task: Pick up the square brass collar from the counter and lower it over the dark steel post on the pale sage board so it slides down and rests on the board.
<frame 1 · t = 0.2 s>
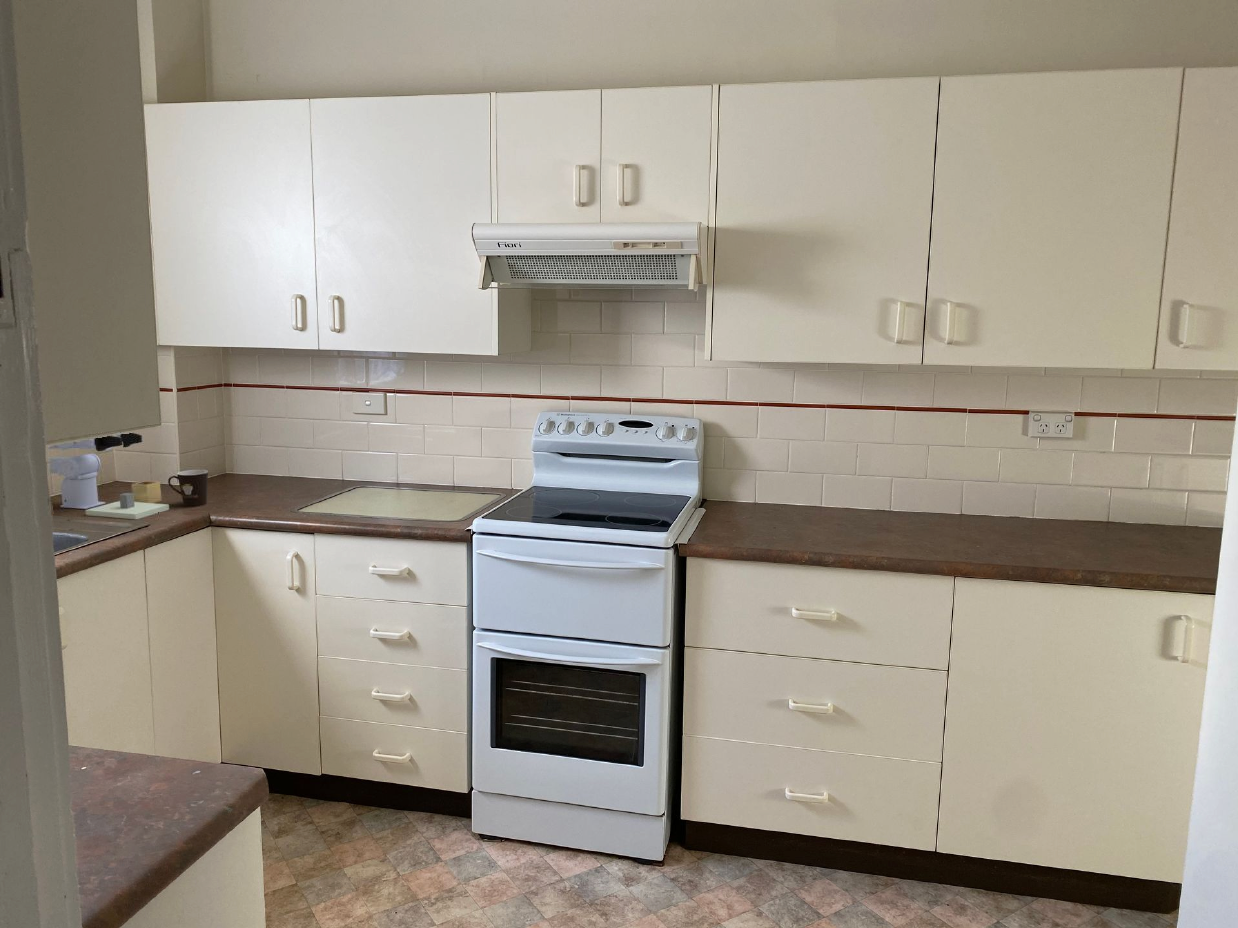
hand: (131, 440, 279), 21 cm above the worktop, tool horizontal, fingers open, 7 cm apart
coffee mug: (192, 504, 291), on the worktop
post stand: (128, 512, 280), on the worktop
brass collar: (147, 502, 294), on the worktop
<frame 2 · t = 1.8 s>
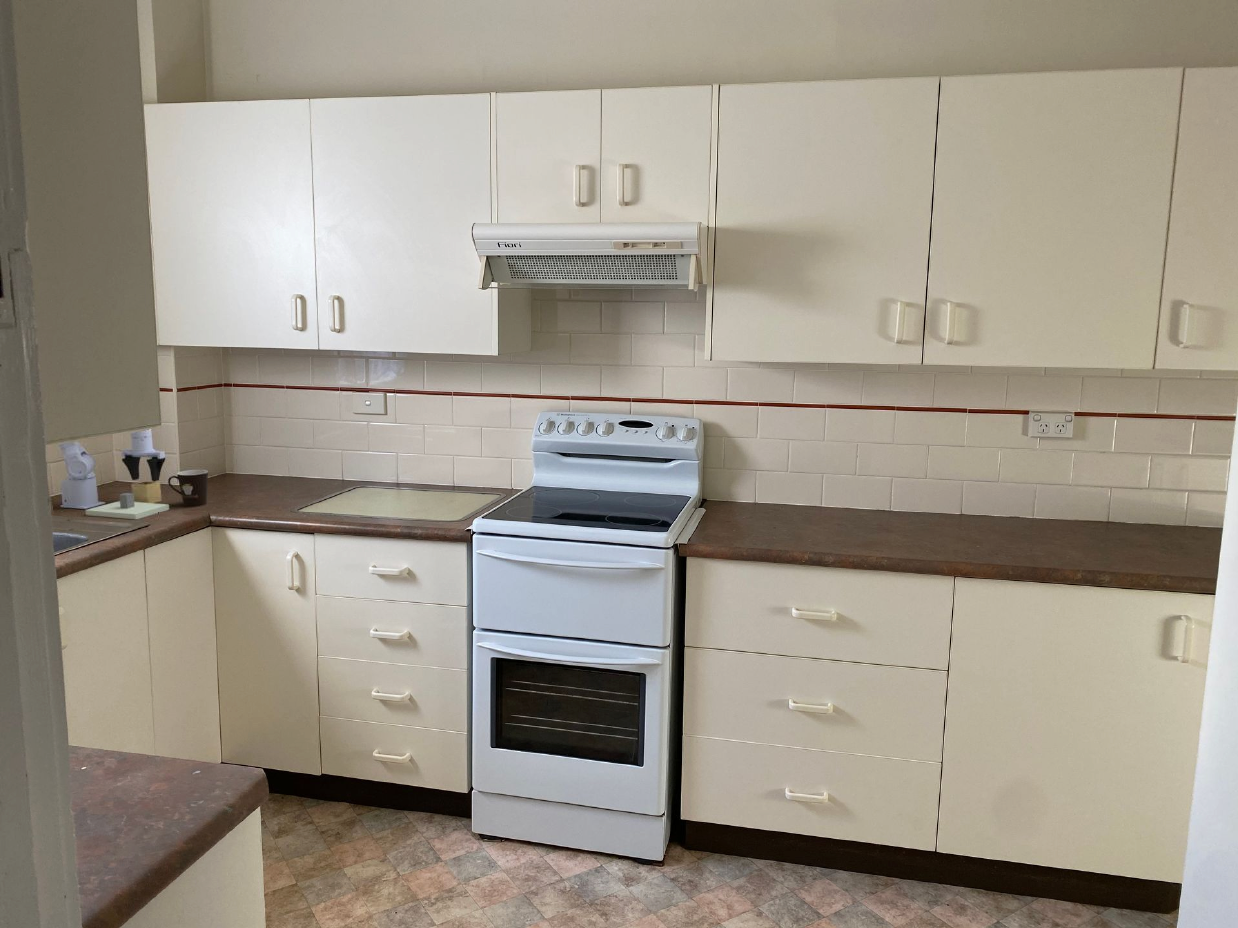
hand: (145, 480, 292), 7 cm above the worktop, tool pointing down, fingers open, 7 cm apart
nothing on the worktop moved.
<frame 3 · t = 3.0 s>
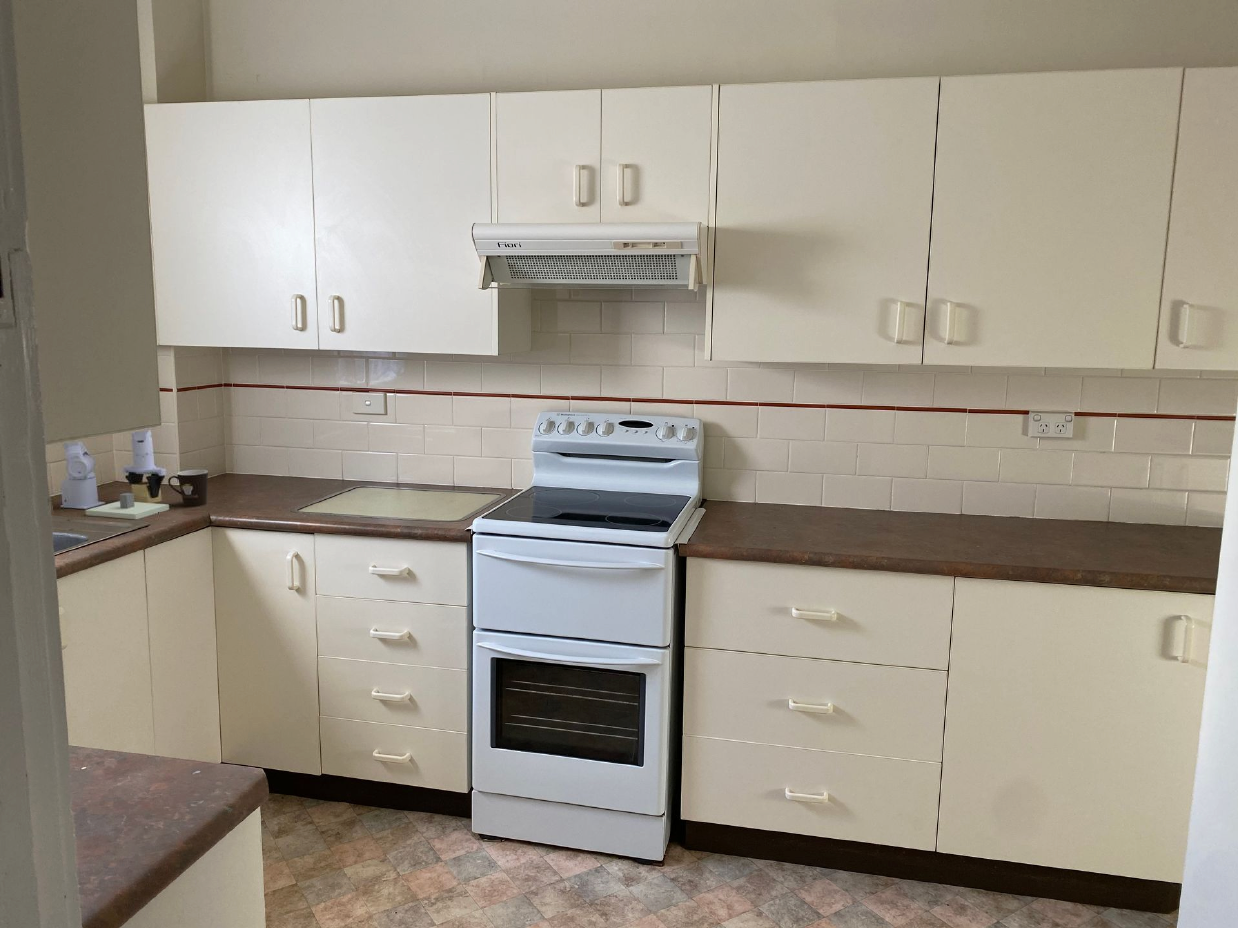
hand: (147, 496, 293), 2 cm above the worktop, tool pointing down, fingers closed on brass collar, 6 cm apart
brass collar: (147, 502, 294), on the worktop, touching gripper
everything else where it was.
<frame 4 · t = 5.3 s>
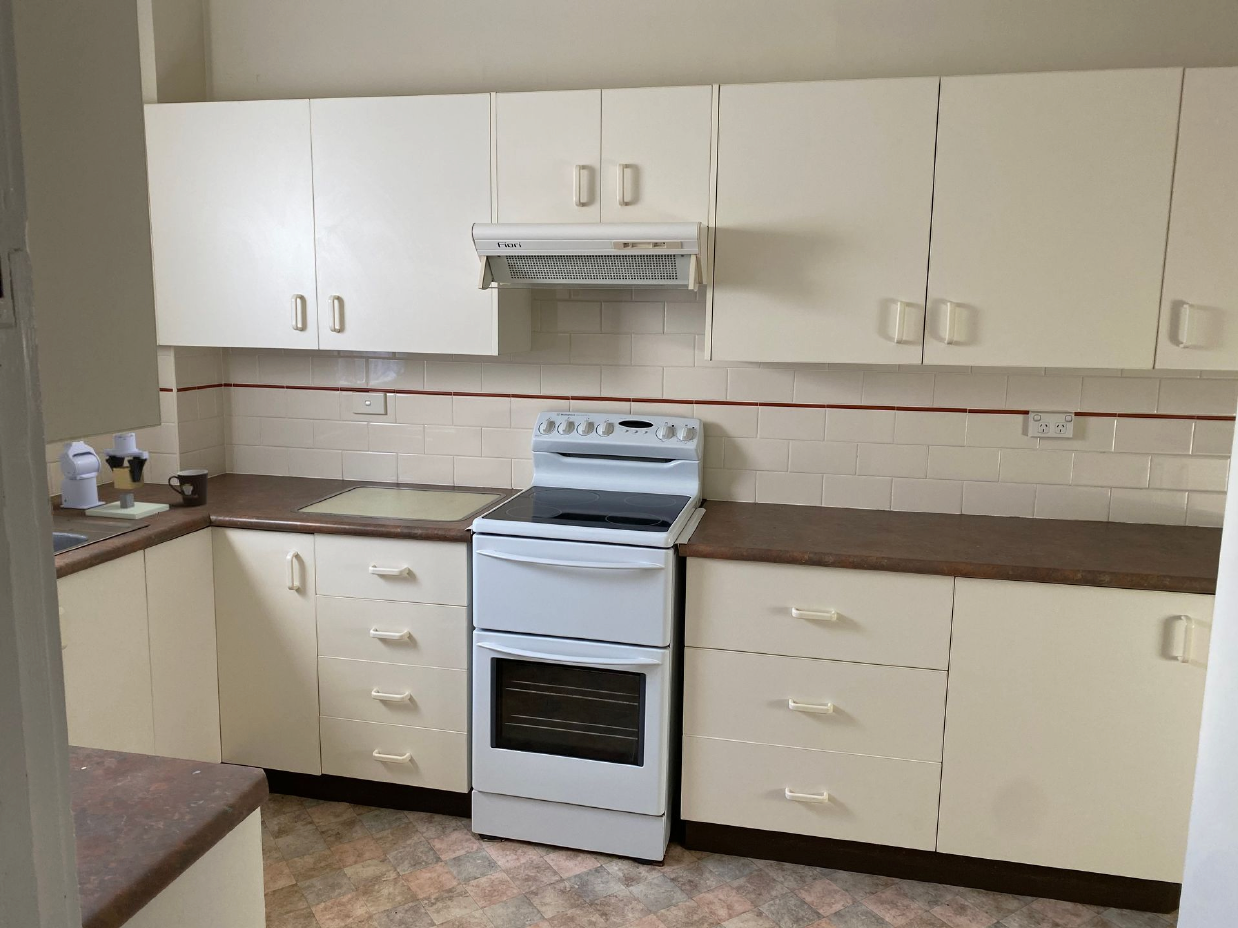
hand: (128, 481, 280), 9 cm above the worktop, tool pointing down, fingers closed on brass collar, 6 cm apart
brass collar: (129, 487, 281), point 7 cm above the worktop, touching gripper
everything else where it was.
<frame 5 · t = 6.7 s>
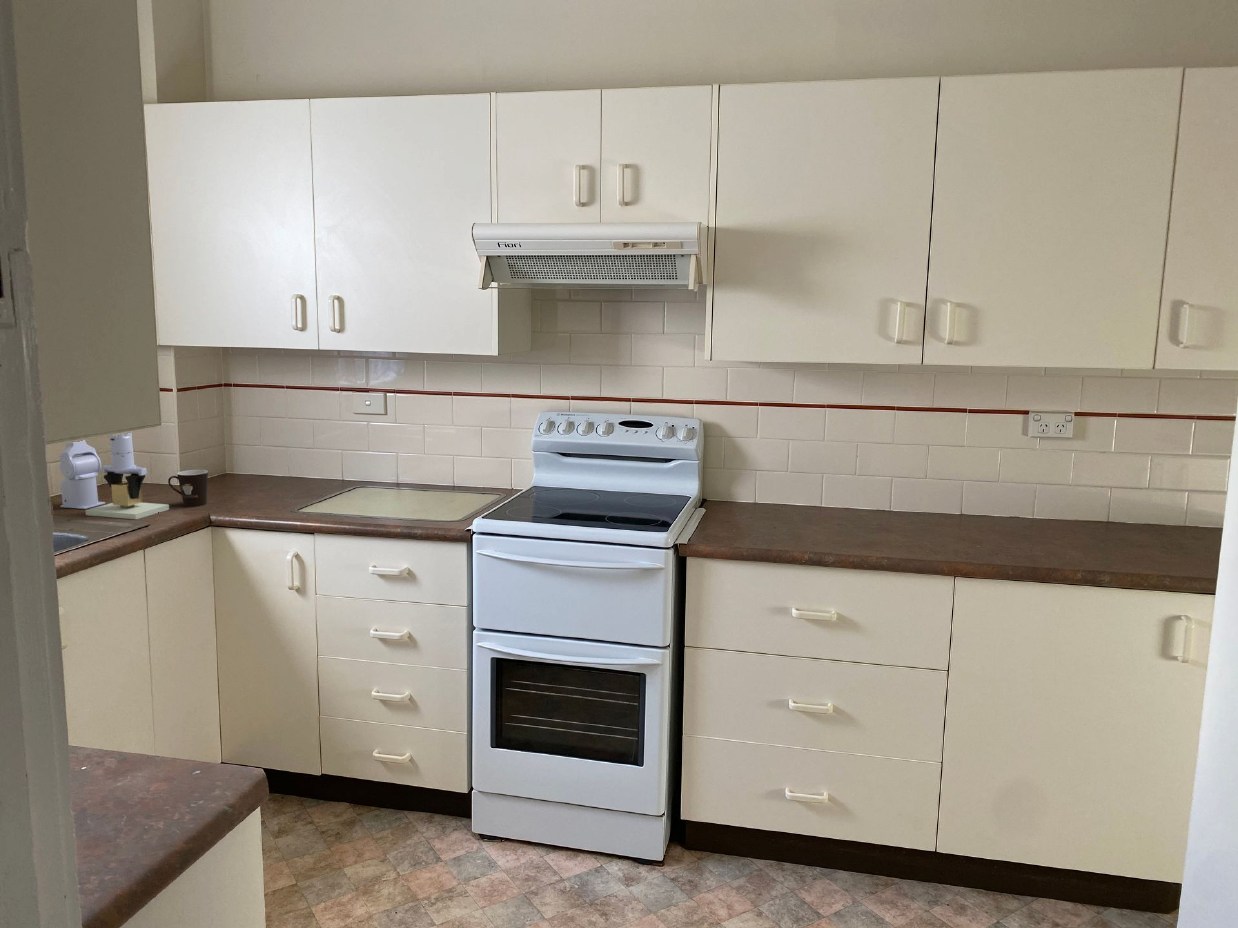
hand: (126, 497, 279), 4 cm above the worktop, tool pointing down, fingers closed on brass collar, 6 cm apart
brass collar: (127, 503, 280), point 3 cm above the worktop, touching gripper
everything else where it was.
when the fingers open (4 cm above the worktop, at t = 7.8 s): brass collar drops 1 cm, resting on post stand.
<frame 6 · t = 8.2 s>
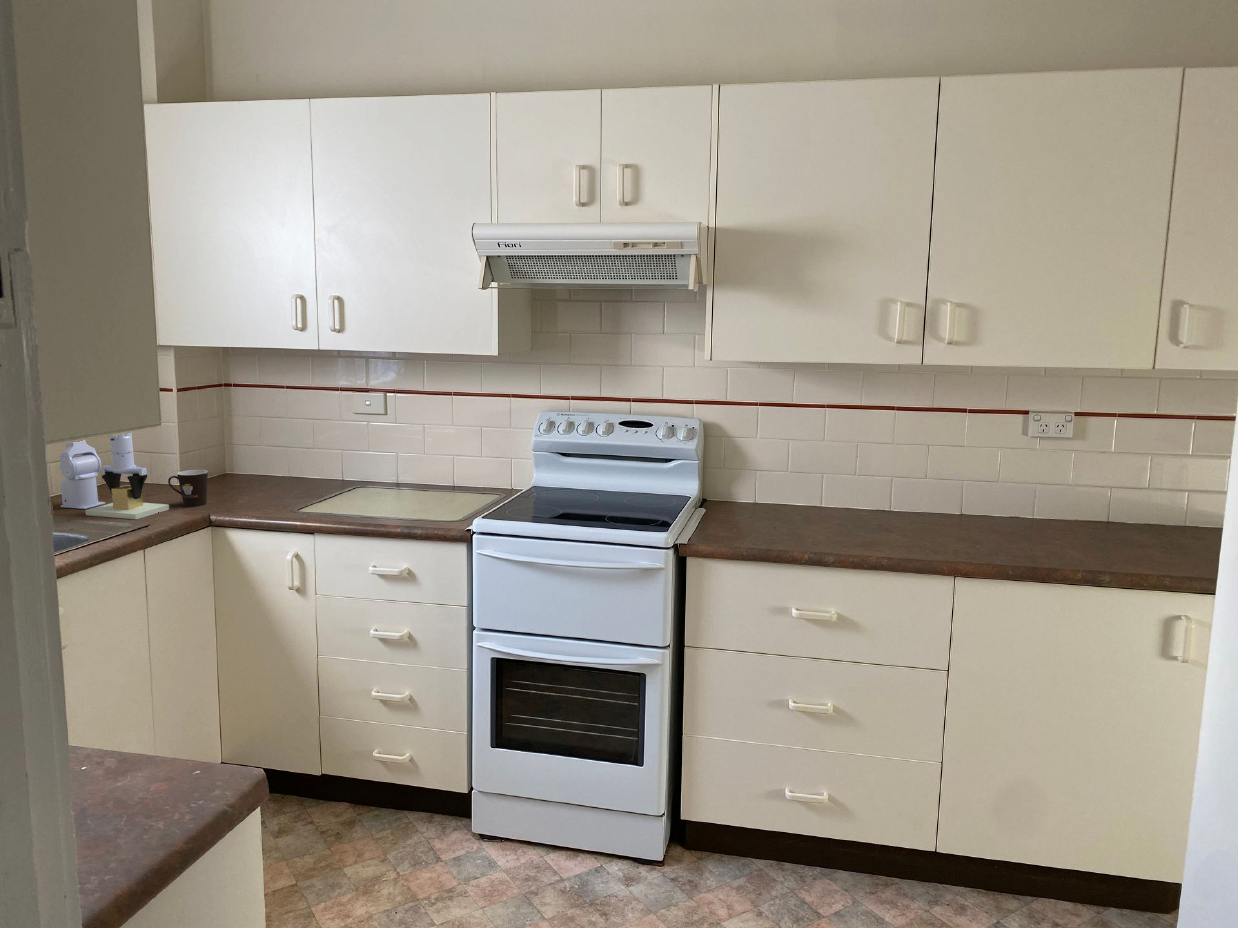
hand: (126, 497, 279), 4 cm above the worktop, tool pointing down, fingers open, 7 cm apart
brass collar: (128, 507, 280), point 1 cm above the worktop, touching post stand
everything else where it was.
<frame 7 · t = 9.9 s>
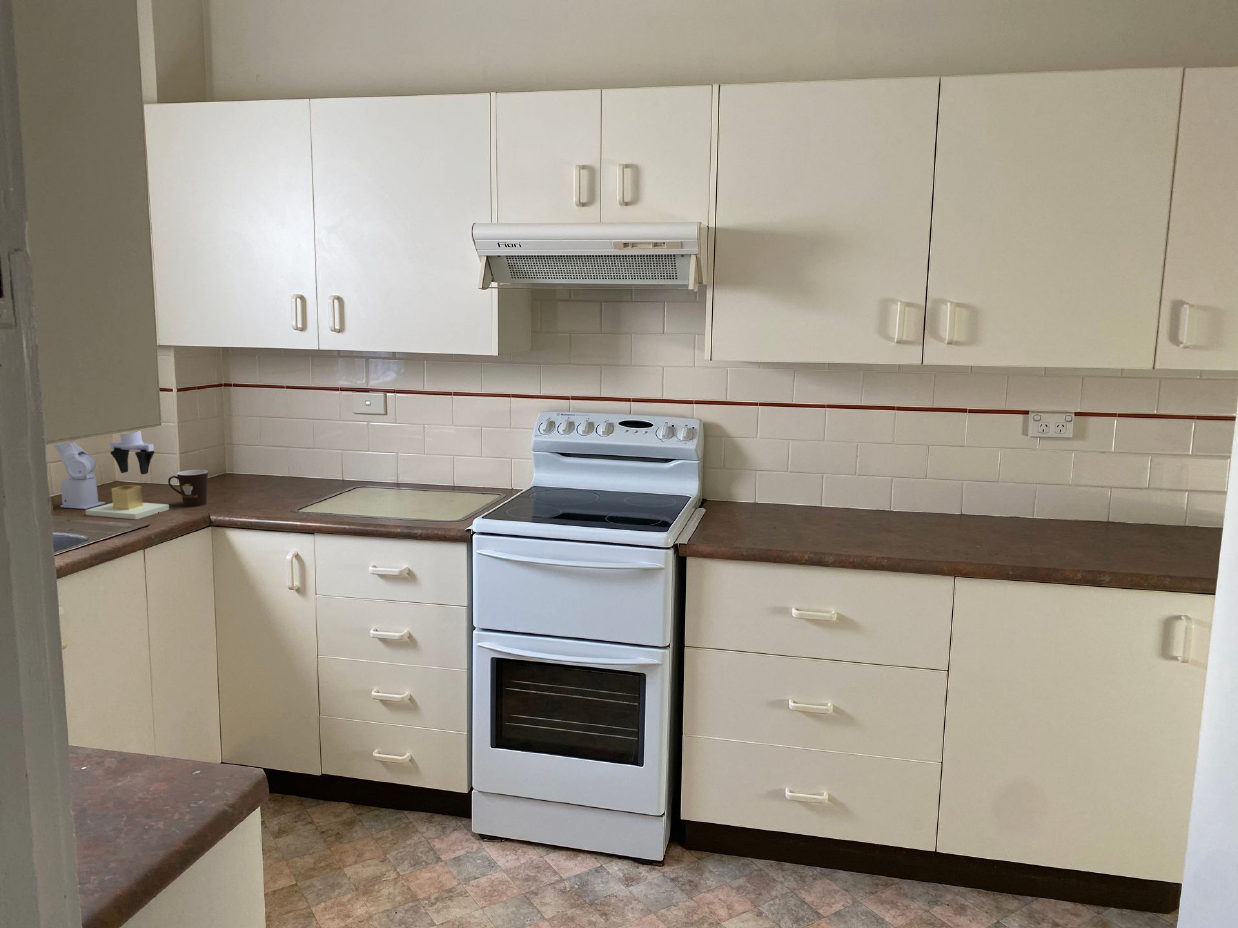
hand: (134, 473, 290), 9 cm above the worktop, tool pointing down, fingers open, 7 cm apart
nothing on the worktop moved.
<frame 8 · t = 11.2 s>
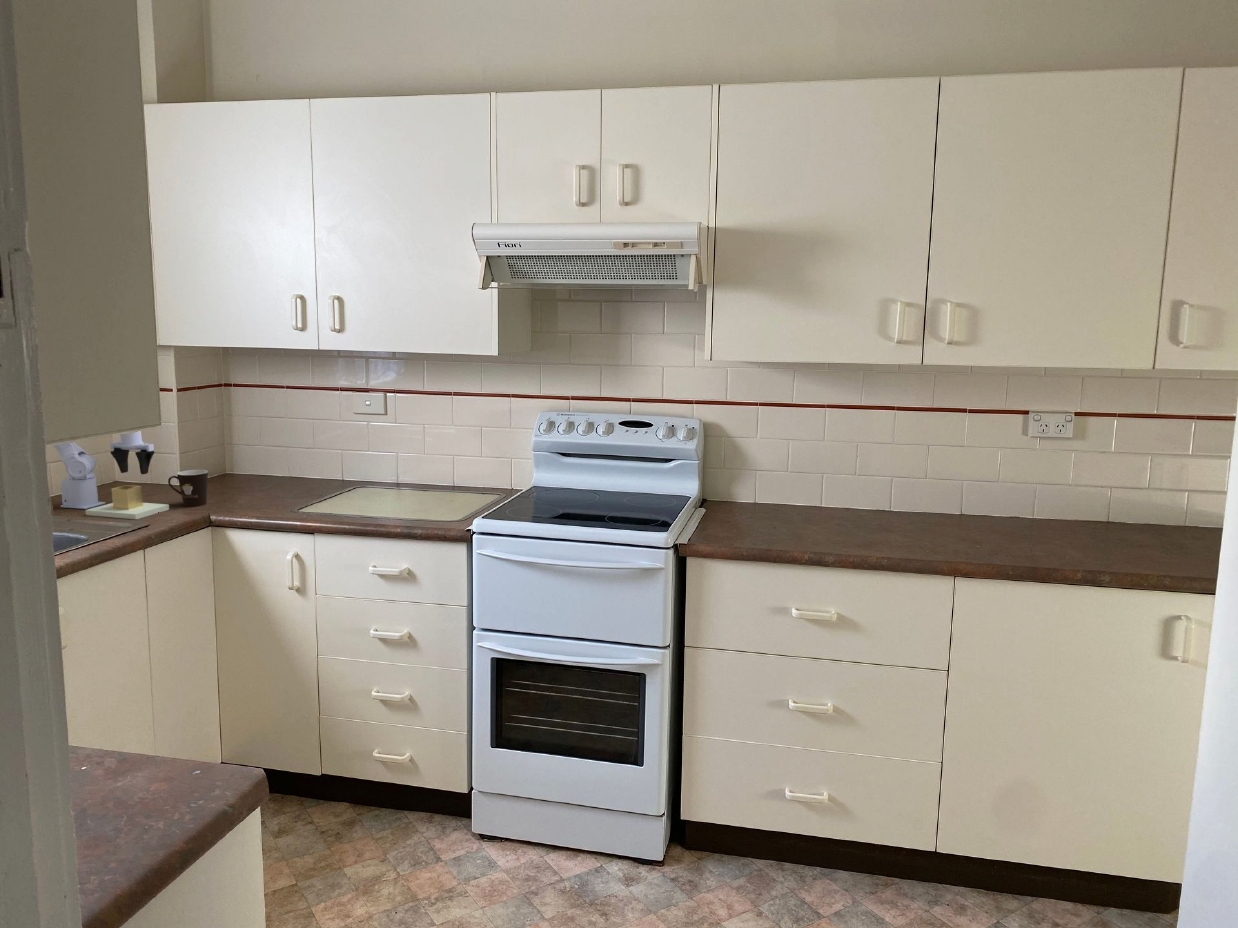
hand: (134, 473, 291), 9 cm above the worktop, tool pointing down, fingers open, 7 cm apart
nothing on the worktop moved.
at the end: brass collar 0.3 cm off-centre on the post stand, point 1.5 cm above the post stand's base; brass collar tilted 0°; the gripper is holding nothing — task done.
